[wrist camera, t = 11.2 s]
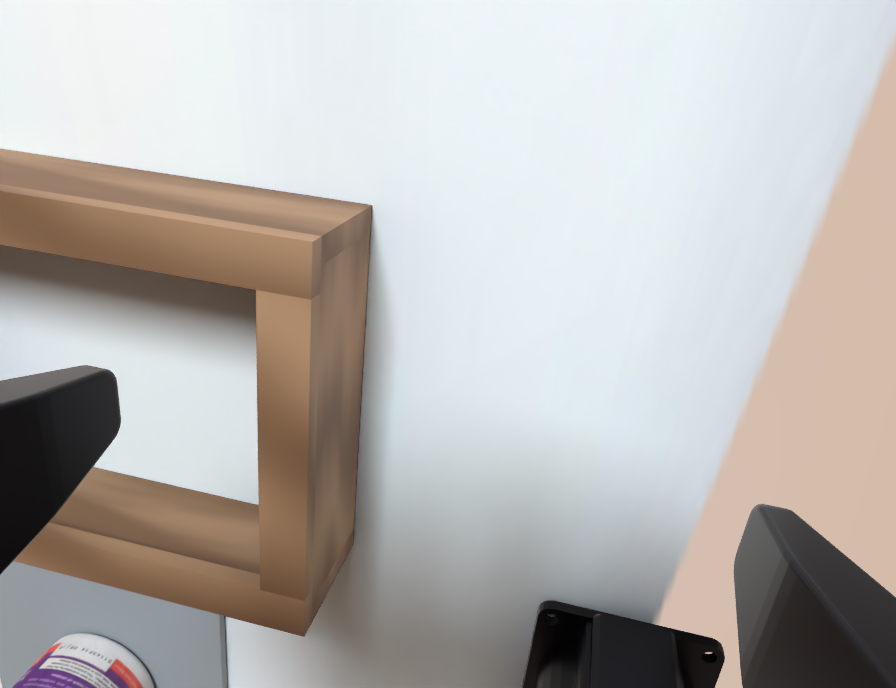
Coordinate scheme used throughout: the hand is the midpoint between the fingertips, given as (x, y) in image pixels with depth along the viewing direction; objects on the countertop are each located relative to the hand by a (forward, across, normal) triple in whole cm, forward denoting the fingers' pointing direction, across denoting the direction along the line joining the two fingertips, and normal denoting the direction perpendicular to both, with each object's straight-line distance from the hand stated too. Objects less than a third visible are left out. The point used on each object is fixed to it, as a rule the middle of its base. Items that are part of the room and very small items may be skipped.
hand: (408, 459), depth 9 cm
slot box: (+12, +14, +6) cm, 19 cm away
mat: (+12, +16, +23) cm, 30 cm away
